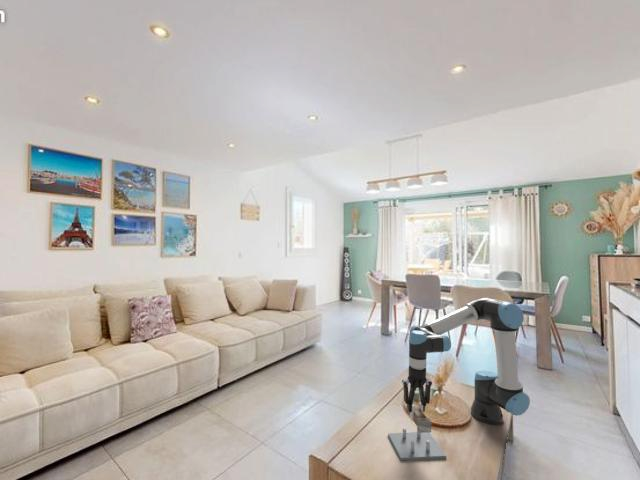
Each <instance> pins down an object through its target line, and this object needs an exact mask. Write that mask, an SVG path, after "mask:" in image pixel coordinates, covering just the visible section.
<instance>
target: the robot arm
mask: <svg viewBox="0 0 640 480" xmlns="http://www.w3.org/2000/svg"><path fill="white" fill-rule="evenodd" d="M524 319H525V318H524V312H523V310H522V309H521V307H520V306H519V305H518V304H516V303H513V302H510V301H508V300H502V299H496V298H493V297H481V298H477V299H474V300H472V301H469V302H467V303H465V304H464V305H463V306H462V307H461V308H459V309H456V310H454V311H452V312H449V313H447V314H446V315H443V316H441V317H439V318H436V319H434V320H432V321H430V322H428V323H426V324H423V325H417V324H415V325H413V326H411V327H410V329H409V337H408V377H407V379H402V380H401V383H402V385H403V402H404V403H405V404H406V405H407V404H408V411H409V412H410V416H409V418H410V420H411V421H412V422H414V405H413V402H414V398H415V394H416V390H417V389H418V392H419V399H420V402H418V407H419V409H420V410H421V411H422V412H423V413H425V411H426V406H427V404H430V399H431V397H430V396H431V387H432V385H433V382H432V381H431V380H430V379H427V354H431V353H433V354H434V353H444V352H449V351H450V350H451V348H452V341H451V339H450V337H449V336H448V335H447V334H446V333H448V332H450V331H452V330H454V329H457V328H459V327H461V326H464V325H465V324H467V323H469V322H477V321H479V320H485V321H488V322H490V329H491V330H493V331H494V341H495V342H494V344H495V357H496V371H497V372H494V371H488V370H479V371H477V372H476V371H475V374H474V399H473V402H472V405H471V406H470V414H471V413H472V414H471V415H472V417H474V418H475V419H476V420H478V421H480V422H481V423H485V424H488V425H489V424H490V425H500V424H502V423H503V422H504V415H503V412H502V409H503V410H505V411H506V412H507V413H509V414H511V415H513V416H522V415H523V414H525V413H526V412H527V410H528V409H529V407H530V403H531V399H530V396H529V395H528V394H527V393H526V392H524V389H523V388H524V386H523V383H521V381H520V380H519V373H518V372H519V371H518V370H519V369H518V368H519V367H518V359H517V357H518V356H517V343H516V333H517V332H518V331H519V329H520V328H521V327H522V326H523V323H524ZM409 384H410V386H409ZM424 385H425V388H424ZM409 387H410V388H409Z"/></svg>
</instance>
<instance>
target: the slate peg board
mask: <svg viewBox="0 0 640 480" xmlns="http://www.w3.org/2000/svg"><path fill="white" fill-rule="evenodd" d="M387 437H388V439H389V441H390V442H391V445H392V447H393V448H394V450H395V452H396V454H397V456H398V458H399V461H401V462H403V461H404V462H406V461H407V462H409V461H423V460H441V459H442V460H443V459H444V460H446V459H447V454H446V453H445V452H444V451H443V449H442V448H441V447H440V445H439V443H438V442H437V441H436V440H435V438H434V437H433V435H432V434H431V432H426V433H420V432H419V431H418V429H417V428H416V431H415V432H414V431H413V432H412V431H411V432H407V428H406V427H402V432H392V433H391V432H390V433H387Z"/></svg>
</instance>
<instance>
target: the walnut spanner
mask: <svg viewBox="0 0 640 480" xmlns="http://www.w3.org/2000/svg"><path fill="white" fill-rule="evenodd" d="M413 405H414V421H413V423H414V424H415V425H416V427H417V428H416V430H417V429H418V431H419V432H420V433H426V432H429V433H432V420H431V419H430V418H429V417H427V416H426V415H425V414H424V412H422V411H421V410H420V409H419V405H417V404H416V402H415V401H413ZM406 413H407V414H408V416H409V417H410V412H409V411H408V404H406Z"/></svg>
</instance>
